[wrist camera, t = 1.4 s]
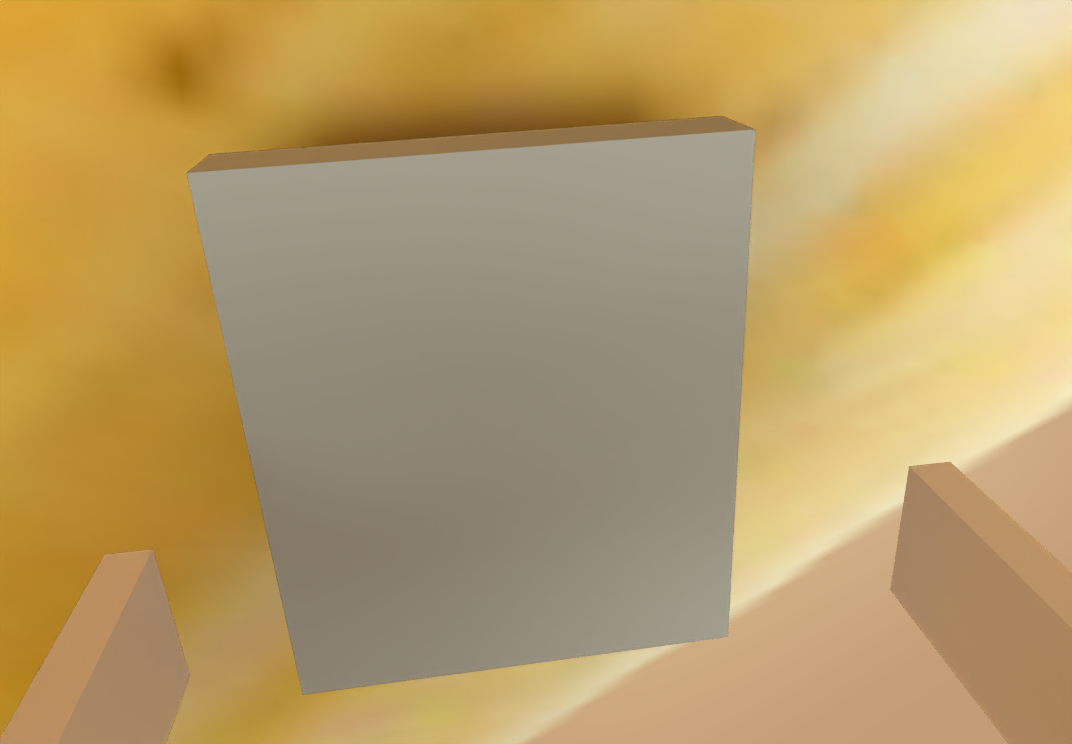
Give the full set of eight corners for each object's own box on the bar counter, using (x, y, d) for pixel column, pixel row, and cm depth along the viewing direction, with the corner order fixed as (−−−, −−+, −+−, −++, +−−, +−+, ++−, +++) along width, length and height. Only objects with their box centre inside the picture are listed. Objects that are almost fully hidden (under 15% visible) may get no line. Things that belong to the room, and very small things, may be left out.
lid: (311, 639, 23) (302, 694, 21) (209, 154, 18) (186, 172, 16) (704, 588, 24) (728, 637, 22) (722, 116, 19) (755, 129, 17)
